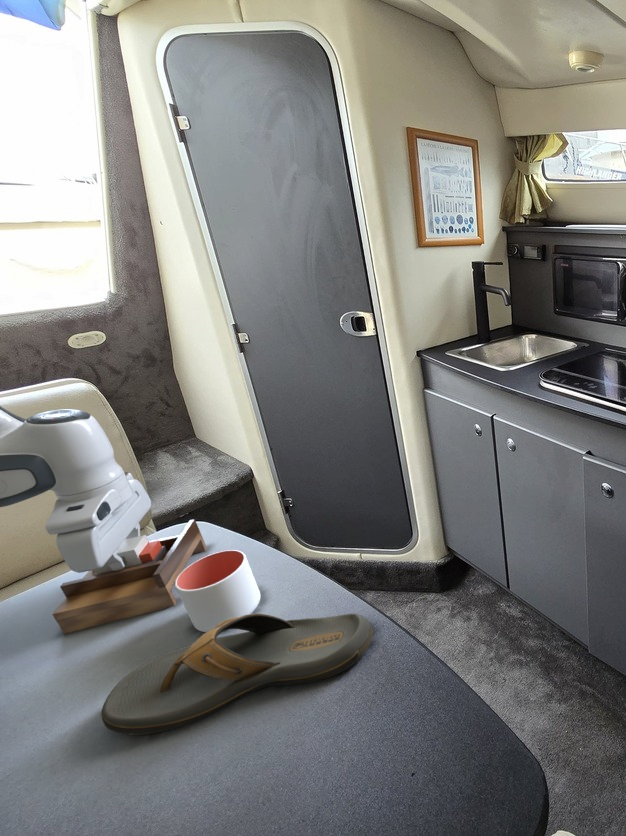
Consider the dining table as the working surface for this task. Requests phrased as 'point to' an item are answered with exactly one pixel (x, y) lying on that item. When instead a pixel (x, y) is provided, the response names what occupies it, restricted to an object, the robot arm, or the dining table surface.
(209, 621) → the cup
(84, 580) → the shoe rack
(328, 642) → the sandal
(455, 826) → the dining table surface
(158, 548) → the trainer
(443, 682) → the dining table surface
